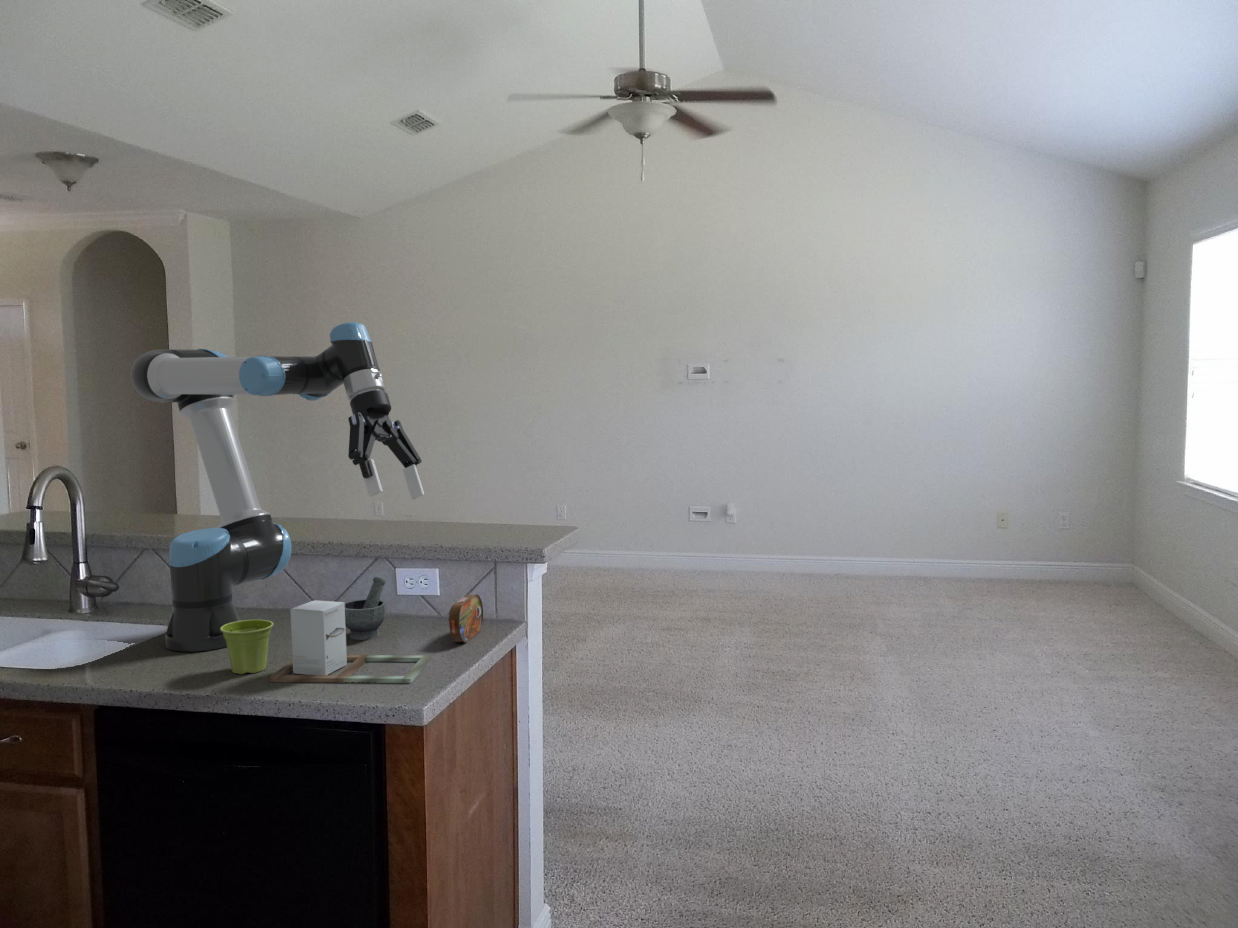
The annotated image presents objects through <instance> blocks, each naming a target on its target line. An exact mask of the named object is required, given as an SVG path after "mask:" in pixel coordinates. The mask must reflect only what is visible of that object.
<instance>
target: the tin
mask: <svg viewBox="0 0 1238 928" xmlns="http://www.w3.org/2000/svg"><path fill="white" fill-rule="evenodd" d="M448 622H449V623H448V625H449V634H450V638H451V640H452V641H453V642H454V643H466V644H467V643H468V642H470V641H471V640H472V639H473V638H474V637H475V636H476V635H478V634H479V633H480V632H481V630H482V627H483V623H484V607H483V601H482V599H481V597H480V595H479V594H477V593H475V594H467V595H464V596H463V597H461V598H460V599H459V600H458V601H456V602H454V603H453V604H452V606H451V608H450V609H449V613H448Z"/></svg>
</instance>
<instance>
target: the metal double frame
mask: <svg viewBox="0 0 1238 928" xmlns="http://www.w3.org/2000/svg"><path fill="white" fill-rule="evenodd" d="M431 657H432V656H431V655H419V654H418V655H414V654H413V655H411V654H410V655H406V654H405V655H404V654H402V655H401V654H398V655H397V654H395V655H392V654H390V655H389V654H386V655H385V654H384V655H383V654H379V655H378V654H373V655H372V654H347V662H352V663H351V664H349V665H348V666H347V667H346V668H344V670H343V671H342V672H341V673H339V674H337V675H331V674H328V675H304V674H290V672H293V659H292V660H290V661H289V662H288V663H286V664H285V665H283V666H282V667H281V668H280V669H278V670H277V671H275V673H273V674H272V675H270V676H269V677H268V682H269V683H345V682H347V683H348V682H349V683H351V682H354V683H355V684H356V683H357V684H360V683H361V682H362V683H363V682H364V683H363V684H367V682H370V683H371V684H381V683H382V684H411V683H412V682H413V681H414V680H415V679H416V678H417V676H418V675H419V674H420V673H421V672H422V670H424V668H425V667H426V666H427V665H428V663H429V662H430V661H431V660H432V658H431ZM366 662H387V663H388V662H389V663H390V662H392V663H394V662H396V663H398V662H401V663H403V662H404V663H406V662H407V663H408V662H409V663H412V662H414V663H415V662H416V663H415V664H414V665H413V666H412V667H411V669H410V670H409V671H408V672H407V673H406V674H405V675H353V674H354V673H356V671H358V670H359V669H358V668H361V667H362V666H363V665H364V664H365V663H366ZM426 664H427V665H426ZM425 665H426V666H425ZM420 671H421V672H420ZM359 682H360V683H359ZM375 682H376V683H375ZM362 683H361V684H362ZM370 683H369V684H370Z"/></svg>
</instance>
